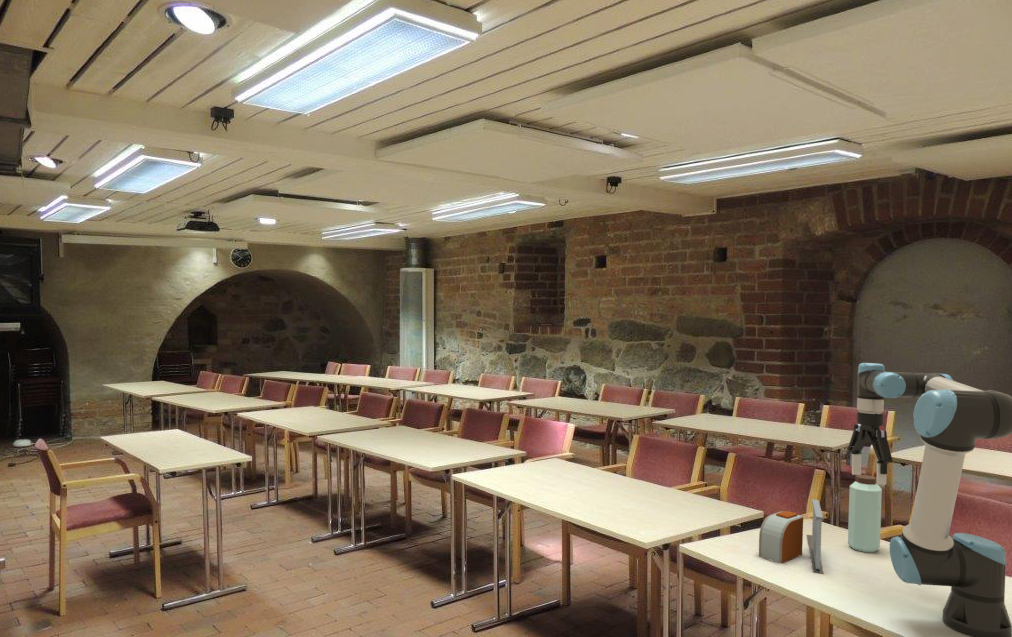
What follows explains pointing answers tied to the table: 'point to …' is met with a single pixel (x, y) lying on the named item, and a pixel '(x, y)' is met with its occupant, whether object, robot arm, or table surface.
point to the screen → (816, 532)
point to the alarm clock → (781, 536)
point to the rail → (809, 538)
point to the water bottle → (864, 514)
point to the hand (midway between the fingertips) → (868, 479)
